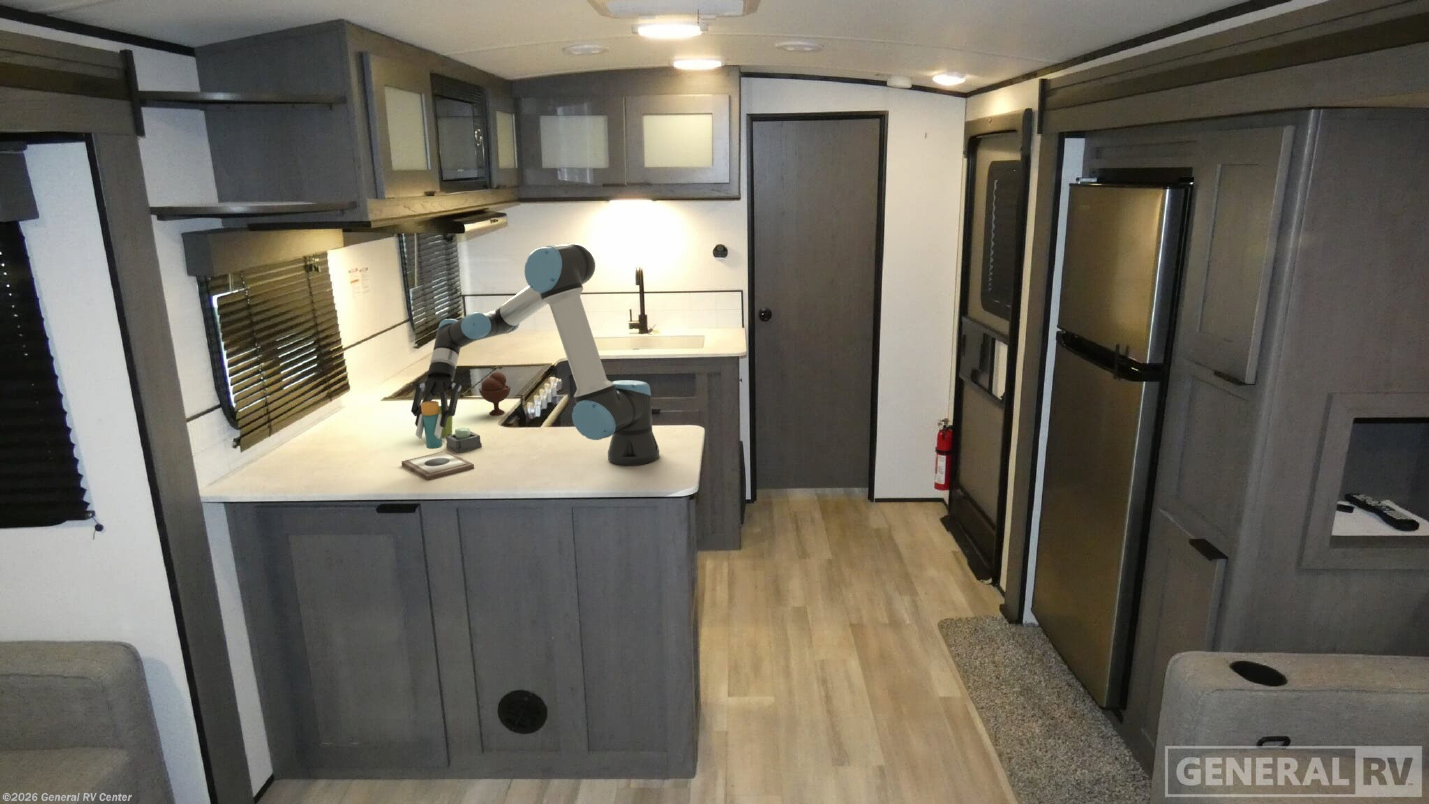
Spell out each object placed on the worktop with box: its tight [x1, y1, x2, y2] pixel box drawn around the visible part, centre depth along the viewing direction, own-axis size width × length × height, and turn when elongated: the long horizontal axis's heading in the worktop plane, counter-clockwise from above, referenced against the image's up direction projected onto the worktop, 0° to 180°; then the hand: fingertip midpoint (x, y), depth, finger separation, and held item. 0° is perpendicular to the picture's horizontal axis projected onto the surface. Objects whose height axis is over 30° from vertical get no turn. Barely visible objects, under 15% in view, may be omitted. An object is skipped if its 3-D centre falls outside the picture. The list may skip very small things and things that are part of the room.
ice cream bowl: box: [478, 371, 511, 417], centre depth 301 cm, size 11×11×15 cm
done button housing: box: [445, 431, 483, 453], centre depth 265 cm, size 8×8×4 cm
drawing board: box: [400, 450, 475, 481], centre depth 248 cm, size 18×14×2 cm
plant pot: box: [439, 405, 454, 438], centre depth 278 cm, size 9×9×9 cm
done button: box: [454, 427, 471, 440], centre depth 265 cm, size 4×4×3 cm
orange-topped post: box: [420, 400, 443, 450], centre depth 245 cm, size 5×5×13 cm
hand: (427, 436), depth 242 cm, fingers closed on orange-topped post, 5 cm apart
